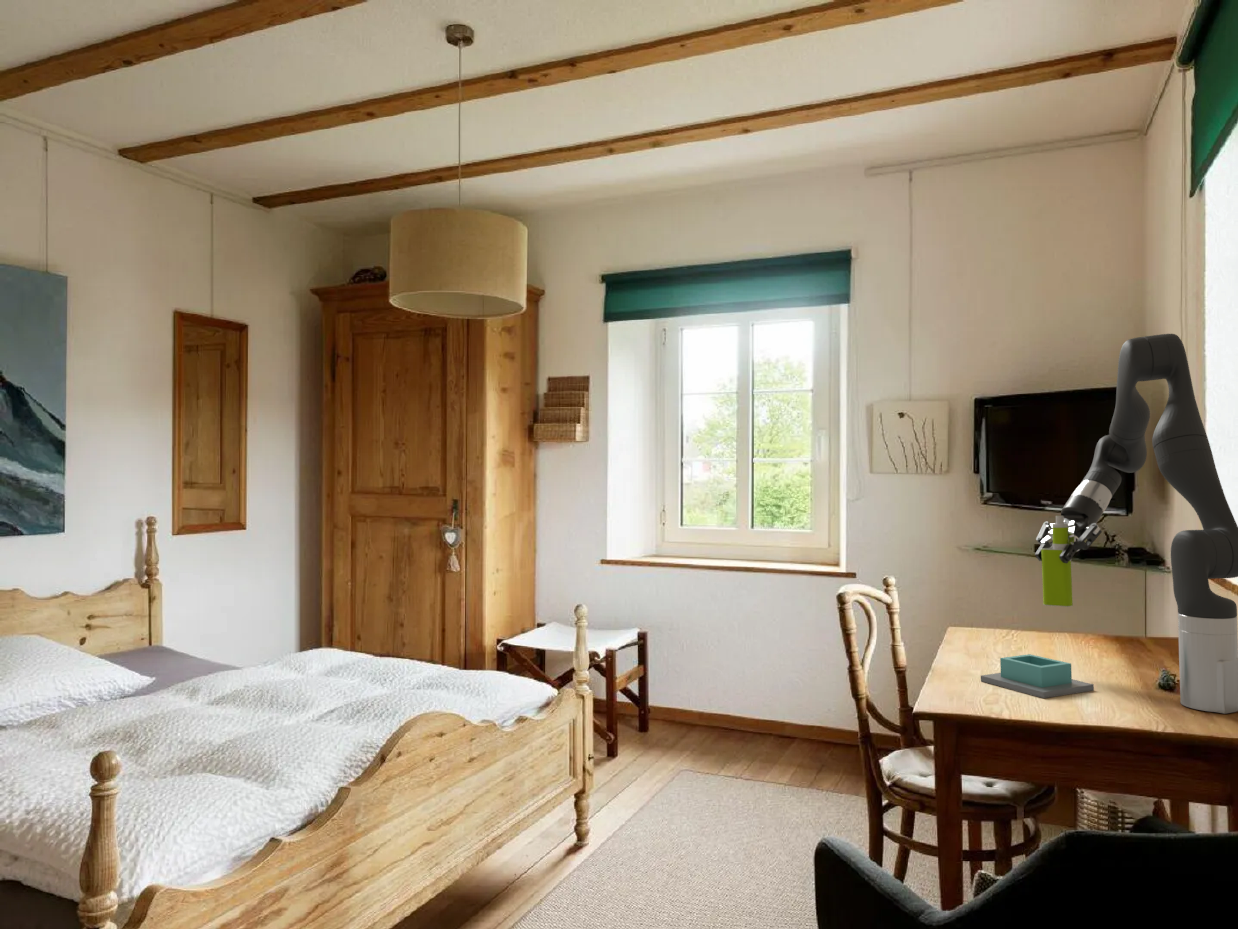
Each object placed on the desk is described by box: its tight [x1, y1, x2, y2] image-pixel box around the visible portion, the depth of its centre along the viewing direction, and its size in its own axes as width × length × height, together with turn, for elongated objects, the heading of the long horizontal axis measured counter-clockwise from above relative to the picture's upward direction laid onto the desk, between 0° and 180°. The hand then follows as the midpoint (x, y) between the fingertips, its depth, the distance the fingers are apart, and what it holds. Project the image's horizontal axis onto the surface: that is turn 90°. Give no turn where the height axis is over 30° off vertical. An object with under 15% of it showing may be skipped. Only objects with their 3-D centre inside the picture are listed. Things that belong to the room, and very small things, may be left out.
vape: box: [1041, 515, 1074, 608], centre depth 191 cm, size 4×6×20 cm, turn 51°
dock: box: [980, 653, 1095, 699], centre depth 179 cm, size 16×14×5 cm
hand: (1050, 559), depth 191 cm, fingers closed on vape, 5 cm apart
